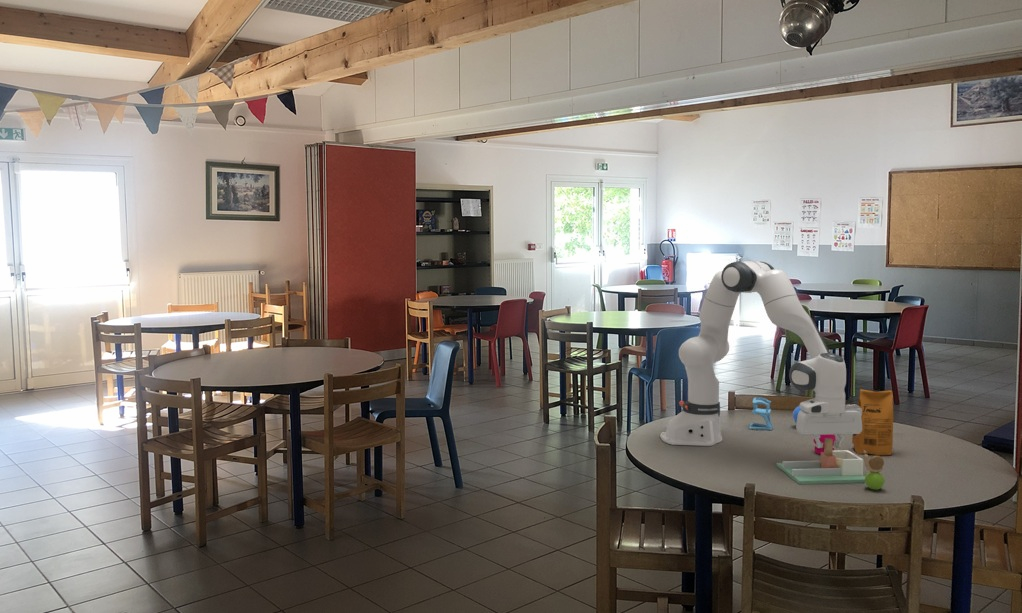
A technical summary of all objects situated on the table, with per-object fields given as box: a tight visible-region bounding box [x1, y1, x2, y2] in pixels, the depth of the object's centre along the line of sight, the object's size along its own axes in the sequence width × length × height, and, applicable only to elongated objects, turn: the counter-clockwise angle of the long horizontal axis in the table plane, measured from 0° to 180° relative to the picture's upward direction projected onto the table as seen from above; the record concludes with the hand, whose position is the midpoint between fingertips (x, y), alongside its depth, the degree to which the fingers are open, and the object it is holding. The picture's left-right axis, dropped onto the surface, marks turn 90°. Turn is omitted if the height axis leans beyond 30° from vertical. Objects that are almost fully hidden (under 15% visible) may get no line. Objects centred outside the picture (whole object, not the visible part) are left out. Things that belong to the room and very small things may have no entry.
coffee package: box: [851, 388, 894, 456], centre depth 271 cm, size 10×12×22 cm
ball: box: [835, 458, 842, 468], centre depth 249 cm, size 4×4×4 cm
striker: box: [820, 438, 836, 468], centre depth 249 cm, size 2×5×10 cm, turn 3°
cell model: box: [792, 405, 802, 424], centre depth 302 cm, size 10×12×10 cm
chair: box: [748, 396, 773, 431], centre depth 303 cm, size 8×8×12 cm
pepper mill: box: [813, 434, 837, 456], centre depth 271 cm, size 7×7×20 cm
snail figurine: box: [863, 451, 885, 491], centre depth 234 cm, size 5×6×12 cm
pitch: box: [776, 449, 866, 485], centre depth 249 cm, size 22×18×6 cm
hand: (828, 447), depth 249 cm, fingers open, 4 cm apart
